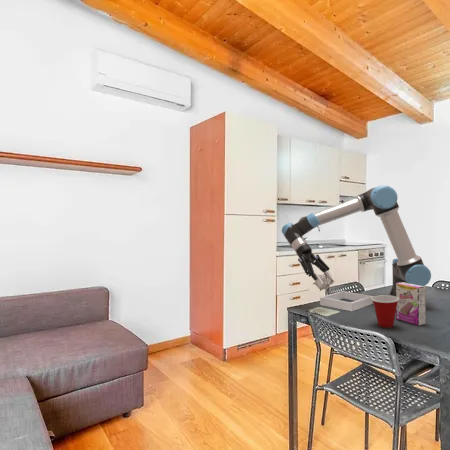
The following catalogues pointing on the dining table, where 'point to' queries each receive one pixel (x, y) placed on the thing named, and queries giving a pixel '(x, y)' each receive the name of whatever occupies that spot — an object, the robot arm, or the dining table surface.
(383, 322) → the plastic cup
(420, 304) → the candy bar box
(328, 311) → the pad
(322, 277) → the wireframe polyhedron
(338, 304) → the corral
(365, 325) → the dining table surface
